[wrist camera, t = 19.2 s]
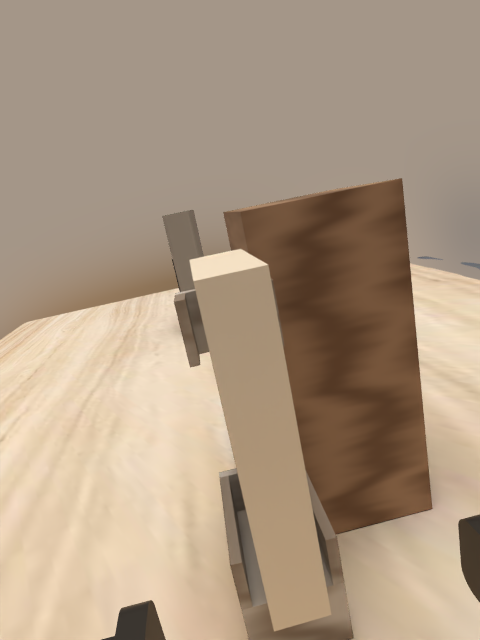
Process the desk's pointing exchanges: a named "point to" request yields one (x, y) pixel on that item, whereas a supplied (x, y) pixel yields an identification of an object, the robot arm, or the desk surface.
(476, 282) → the desk surface
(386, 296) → the cabinet
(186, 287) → the cassette tape recorder
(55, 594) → the desk surface
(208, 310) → the beige rectangular block
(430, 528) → the desk surface
